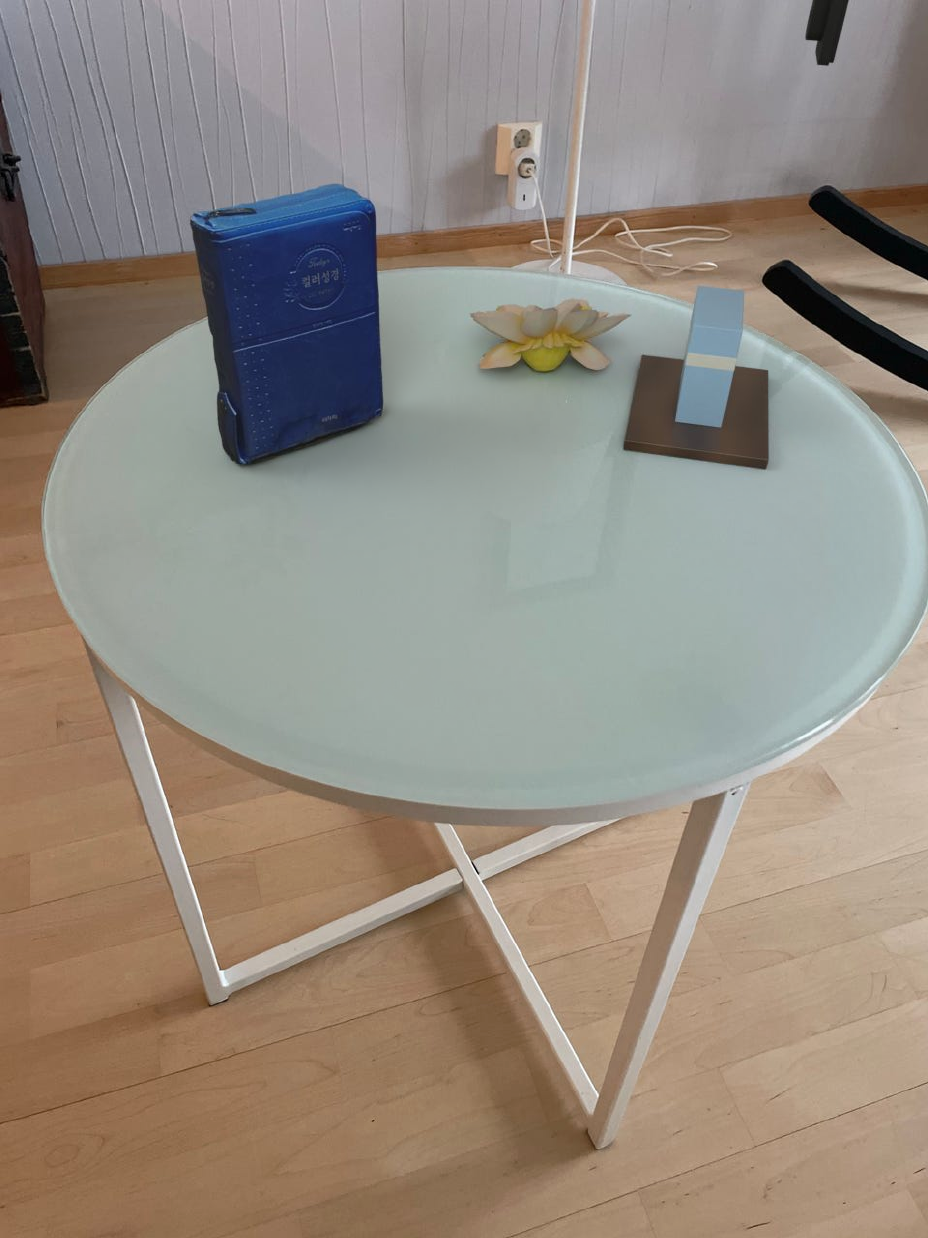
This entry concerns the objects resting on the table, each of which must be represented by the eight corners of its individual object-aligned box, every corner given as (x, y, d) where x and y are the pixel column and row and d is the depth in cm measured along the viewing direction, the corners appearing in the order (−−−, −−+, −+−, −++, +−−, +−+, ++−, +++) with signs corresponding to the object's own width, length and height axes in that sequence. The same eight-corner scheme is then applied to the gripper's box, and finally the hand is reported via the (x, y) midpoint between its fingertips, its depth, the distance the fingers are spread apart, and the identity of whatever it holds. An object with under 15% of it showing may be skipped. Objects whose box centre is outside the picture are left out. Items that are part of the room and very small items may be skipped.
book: (241, 478, 81) (203, 230, 68) (212, 448, 84) (171, 206, 71) (390, 426, 87) (382, 190, 74) (358, 400, 91) (345, 170, 77)
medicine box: (724, 383, 92) (744, 290, 86) (721, 428, 86) (743, 330, 80) (680, 378, 93) (697, 284, 87) (674, 422, 87) (692, 324, 81)
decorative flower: (618, 312, 101) (626, 224, 93) (632, 390, 95) (642, 303, 86) (470, 321, 101) (465, 234, 93) (474, 398, 95) (469, 313, 87)
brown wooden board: (766, 379, 95) (768, 369, 95) (766, 469, 84) (768, 459, 83) (640, 363, 97) (641, 353, 96) (623, 449, 85) (624, 439, 85)
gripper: (843, -476, 35) (741, 72, 46) (1399, -477, 32) (1144, 104, 43) (832, -448, 40) (743, 35, 52) (1307, -447, 37) (1102, 62, 49)
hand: (927, 66), depth 47 cm, fingers open, 9 cm apart
